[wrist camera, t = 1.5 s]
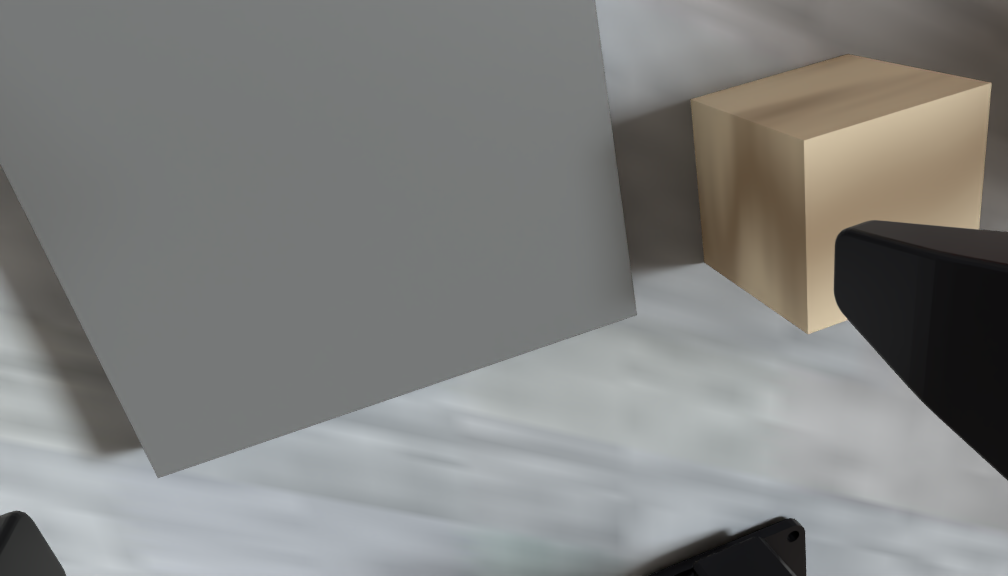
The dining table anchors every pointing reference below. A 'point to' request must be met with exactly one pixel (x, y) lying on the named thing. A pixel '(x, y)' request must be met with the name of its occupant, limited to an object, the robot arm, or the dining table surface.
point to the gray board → (311, 197)
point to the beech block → (831, 170)
